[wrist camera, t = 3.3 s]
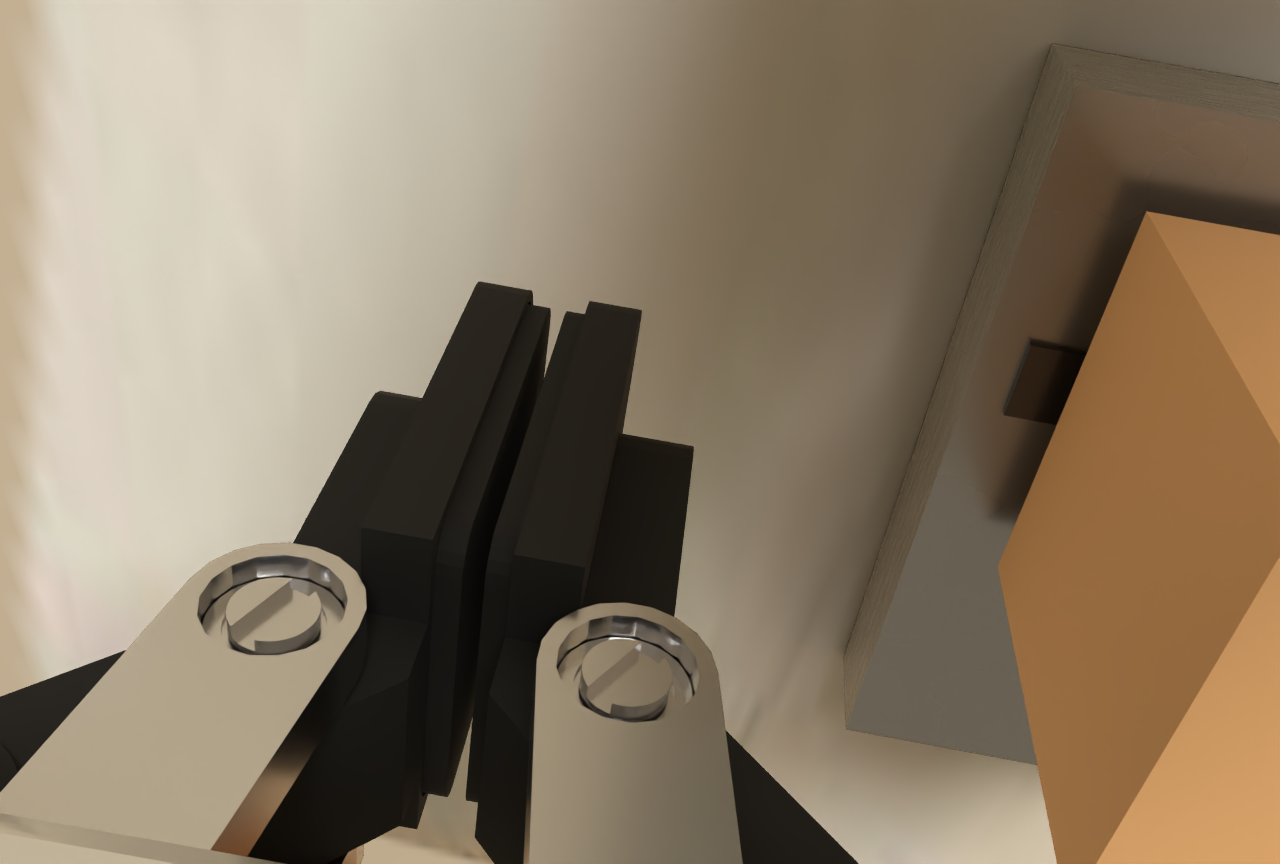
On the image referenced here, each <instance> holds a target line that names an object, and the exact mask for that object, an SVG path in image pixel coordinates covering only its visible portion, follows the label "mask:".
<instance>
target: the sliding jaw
mask: <svg viewBox="0 0 1280 864" xmlns="http://www.w3.org/2000/svg"><path fill="white" fill-rule="evenodd" d="M998 571H999V576H1000V581H1001V586H1002V591H1003V596H1004V601H1005V606H1006V611H1007V616H1008V621H1009V626H1010V631H1011V636H1012V641H1013V646H1014V651H1015V656H1016V661H1017V666H1018V671H1019V676H1020V680H1021V685H1022V690H1023V695H1024V700H1025V705H1026V710H1027V715H1028V720H1029V725H1030V730H1031V735H1032V740H1033V745H1034V750H1035V755H1036V760H1037V765H1038V770H1039V775H1040V780H1041V785H1042V790H1043V795H1044V800H1045V805H1046V810H1047V815H1048V820H1049V825H1050V830H1051V835H1052V840H1053V845H1054V850H1055V855H1056V860H1057V864H1280V235H1276V234H1270V233H1265V232H1259V231H1253V230H1248V229H1242V228H1237V227H1231V226H1226V225H1220V224H1215V223H1209V222H1203V221H1198V220H1192V219H1187V218H1181V217H1176V216H1170V215H1164V214H1159V213H1153V212H1148V211H1146V213H1145V216H1144V218H1143V221H1142V223H1141V225H1140V228H1139V230H1138V233H1137V235H1136V237H1135V240H1134V242H1133V244H1132V247H1131V249H1130V252H1129V254H1128V256H1127V259H1126V261H1125V264H1124V266H1123V268H1122V271H1121V273H1120V275H1119V278H1118V280H1117V283H1116V285H1115V287H1114V290H1113V292H1112V295H1111V297H1110V299H1109V302H1108V304H1107V306H1106V309H1105V311H1104V314H1103V316H1102V318H1101V321H1100V323H1099V326H1098V328H1097V330H1096V333H1095V335H1094V338H1093V340H1092V342H1091V345H1090V347H1089V349H1088V352H1087V354H1086V357H1085V359H1084V361H1083V364H1082V366H1081V369H1080V371H1079V373H1078V376H1077V378H1076V380H1075V383H1074V385H1073V388H1072V390H1071V392H1070V395H1069V397H1068V400H1067V402H1066V404H1065V407H1064V409H1063V411H1062V414H1061V416H1060V419H1059V421H1058V423H1057V426H1056V428H1055V431H1054V433H1053V435H1052V438H1051V440H1050V443H1049V445H1048V447H1047V450H1046V452H1045V454H1044V457H1043V459H1042V462H1041V464H1040V466H1039V469H1038V471H1037V474H1036V476H1035V478H1034V481H1033V483H1032V485H1031V488H1030V490H1029V493H1028V495H1027V497H1026V500H1025V502H1024V505H1023V507H1022V509H1021V512H1020V514H1019V516H1018V519H1017V521H1016V524H1015V526H1014V528H1013V531H1012V533H1011V536H1010V538H1009V540H1008V543H1007V545H1006V548H1005V550H1004V552H1003V555H1002V557H1001V559H1000V562H999V564H998Z"/></svg>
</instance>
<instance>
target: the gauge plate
mask: <svg viewBox="0 0 1280 864" xmlns="http://www.w3.org/2000/svg"><path fill="white" fill-rule="evenodd" d="M1146 211H1148V212H1153V213H1159V214H1164V215H1170V216H1176V217H1181V218H1187V219H1192V220H1198V221H1203V222H1209V223H1215V224H1220V225H1226V226H1231V227H1237V228H1242V229H1248V230H1253V231H1259V232H1265V233H1270V234H1276V235H1280V84H1277V83H1271V82H1265V81H1260V80H1254V79H1248V78H1243V77H1237V76H1232V75H1226V74H1220V73H1215V72H1209V71H1203V70H1198V69H1192V68H1187V67H1181V66H1175V65H1170V64H1164V63H1159V62H1153V61H1147V60H1142V59H1136V58H1130V57H1125V56H1119V55H1114V54H1108V53H1102V52H1097V51H1091V50H1085V49H1080V48H1074V47H1069V46H1063V45H1057V44H1052V45H1051V48H1050V51H1049V54H1048V57H1047V60H1046V63H1045V66H1044V69H1043V72H1042V75H1041V78H1040V81H1039V84H1038V86H1037V89H1036V92H1035V95H1034V98H1033V101H1032V104H1031V107H1030V110H1029V113H1028V116H1027V119H1026V122H1025V125H1024V128H1023V131H1022V134H1021V137H1020V139H1019V142H1018V145H1017V148H1016V151H1015V154H1014V157H1013V160H1012V163H1011V166H1010V169H1009V172H1008V175H1007V178H1006V181H1005V184H1004V187H1003V190H1002V193H1001V195H1000V198H999V201H998V204H997V207H996V210H995V213H994V216H993V219H992V222H991V225H990V228H989V231H988V234H987V237H986V240H985V243H984V246H983V248H982V251H981V254H980V257H979V260H978V263H977V266H976V269H975V272H974V275H973V278H972V281H971V284H970V287H969V290H968V293H967V296H966V299H965V301H964V304H963V307H962V310H961V313H960V316H959V319H958V322H957V325H956V328H955V331H954V334H953V337H952V340H951V343H950V346H949V349H948V352H947V354H946V357H945V360H944V363H943V366H942V369H941V372H940V375H939V378H938V381H937V384H936V387H935V390H934V393H933V396H932V399H931V402H930V405H929V407H928V410H927V413H926V416H925V419H924V422H923V425H922V428H921V431H920V434H919V437H918V440H917V443H916V446H915V449H914V452H913V455H912V458H911V461H910V463H909V466H908V469H907V472H906V475H905V478H904V481H903V484H902V487H901V490H900V493H899V496H898V499H897V502H896V505H895V508H894V511H893V514H892V516H891V519H890V522H889V525H888V528H887V531H886V534H885V537H884V540H883V543H882V546H881V549H880V552H879V555H878V558H877V561H876V564H875V567H874V569H873V572H872V575H871V578H870V581H869V584H868V587H867V590H866V593H865V596H864V599H863V602H862V605H861V608H860V611H859V614H858V617H857V620H856V622H855V625H854V628H853V631H852V634H851V637H850V640H849V643H848V646H847V649H846V652H845V655H844V658H843V662H844V691H845V720H846V729H848V730H853V731H858V732H864V733H869V734H874V735H880V736H885V737H891V738H896V739H901V740H907V741H912V742H917V743H923V744H928V745H933V746H939V747H944V748H949V749H955V750H960V751H965V752H971V753H976V754H981V755H987V756H992V757H997V758H1003V759H1008V760H1013V761H1019V762H1024V763H1030V764H1035V765H1037V760H1036V755H1035V750H1034V745H1033V740H1032V735H1031V730H1030V725H1029V720H1028V715H1027V710H1026V705H1025V700H1024V695H1023V690H1022V685H1021V680H1020V676H1019V671H1018V666H1017V661H1016V656H1015V651H1014V646H1013V641H1012V636H1011V631H1010V626H1009V621H1008V616H1007V611H1006V606H1005V601H1004V596H1003V591H1002V586H1001V581H1000V576H999V571H998V564H999V562H1000V559H1001V557H1002V555H1003V552H1004V550H1005V548H1006V545H1007V543H1008V540H1009V538H1010V536H1011V533H1012V531H1013V528H1014V526H1015V524H1016V521H1017V519H1018V516H1019V514H1020V512H1021V509H1022V507H1023V505H1024V502H1025V500H1026V497H1027V495H1028V493H1029V490H1030V488H1031V485H1032V483H1033V481H1034V478H1035V476H1036V474H1037V471H1038V469H1039V466H1040V464H1041V462H1042V459H1043V457H1044V454H1045V452H1046V450H1047V447H1048V445H1049V443H1050V440H1051V438H1052V435H1053V433H1054V431H1055V428H1056V426H1057V423H1058V421H1059V419H1060V416H1061V414H1062V411H1063V409H1064V407H1065V404H1066V402H1067V400H1068V397H1069V395H1070V392H1071V390H1072V388H1073V385H1074V383H1075V380H1076V378H1077V376H1078V373H1079V371H1080V369H1081V366H1082V364H1083V361H1084V359H1085V357H1086V354H1087V352H1088V349H1089V347H1090V345H1091V342H1092V340H1093V338H1094V335H1095V333H1096V330H1097V328H1098V326H1099V323H1100V321H1101V318H1102V316H1103V314H1104V311H1105V309H1106V306H1107V304H1108V302H1109V299H1110V297H1111V295H1112V292H1113V290H1114V287H1115V285H1116V283H1117V280H1118V278H1119V275H1120V273H1121V271H1122V268H1123V266H1124V264H1125V261H1126V259H1127V256H1128V254H1129V252H1130V249H1131V247H1132V244H1133V242H1134V240H1135V237H1136V235H1137V233H1138V230H1139V228H1140V225H1141V223H1142V221H1143V218H1144V216H1145V213H1146Z"/></svg>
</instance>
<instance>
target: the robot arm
mask: <svg viewBox="0 0 1280 864" xmlns="http://www.w3.org/2000/svg"><path fill="white" fill-rule="evenodd" d="M641 315H642V310H638V309H632V308H626V307H621V306H615V305H609V304H604V303H598V302H592V301H589V304H588V307H587V310H586V313H585V314H580V313H574V312H568V311H567V312H566V313H565V316H564V319H563V322H562V325H561V328H560V331H559V334H558V338H557V341H556V344H555V347H554V350H553V353H552V356H551V359H550V362H549V365H548V368H547V371H546V374H545V377H544V372H545V363H546V354H547V345H548V337H549V328H550V317H551V310H550V308H546V307H540V306H534V305H533V292H532V291H530V290H525V289H519V288H513V287H508V286H502V285H496V284H491V283H485V282H478V283H477V285H476V286H475V288H474V291H473V293H472V295H471V297H470V299H469V301H468V303H467V305H466V307H465V309H464V312H463V314H462V316H461V318H460V320H459V322H458V324H457V326H456V328H455V331H454V333H453V335H452V337H451V339H450V341H449V343H448V345H447V347H446V349H445V352H444V354H443V356H442V358H441V360H440V362H439V364H438V366H437V368H436V371H435V373H434V375H433V377H432V379H431V381H430V383H429V385H428V387H427V389H426V392H425V394H424V396H423V398H418V397H412V396H407V395H401V394H395V393H390V392H384V391H379V392H377V393H375V395H374V396H373V397H372V399H371V400H370V402H369V404H368V406H367V407H366V409H365V411H364V413H363V415H362V417H361V419H360V420H359V422H358V424H357V426H356V428H355V430H354V431H353V433H352V435H351V437H350V439H349V441H348V443H347V444H346V446H345V448H344V450H343V452H342V454H341V456H340V457H339V459H338V461H337V463H336V465H335V467H334V468H333V470H332V472H331V474H330V476H329V478H328V480H327V481H326V483H325V485H324V487H323V489H322V491H321V493H320V494H319V496H318V498H317V500H316V502H315V504H314V505H313V507H312V509H311V511H310V513H309V515H308V517H307V518H306V520H305V522H304V524H303V526H302V528H301V530H300V531H299V533H298V535H297V537H296V539H295V541H294V542H293V543H271V544H259V545H255V546H250V547H246V548H242V549H238V550H234V551H232V552H230V553H228V554H225V555H223V556H221V557H219V558H217V559H215V560H213V561H211V562H209V563H208V564H207V565H205V566H204V567H203V568H202V569H201V570H200V571H198V572H197V573H196V574H195V575H194V576H192V577H191V578H190V579H189V580H188V581H187V583H186V584H185V585H184V586H183V587H182V588H181V589H180V590H179V592H178V593H177V594H176V595H175V596H174V597H173V598H172V599H171V601H170V602H169V603H168V604H167V605H166V606H165V607H164V608H163V610H162V611H161V612H160V613H159V614H158V615H157V616H156V617H155V619H154V620H153V621H152V622H151V623H150V624H149V625H148V626H147V628H146V629H145V630H144V631H143V632H142V633H141V634H140V636H139V637H138V638H137V639H136V640H135V641H134V642H133V643H132V645H131V646H130V647H129V648H128V649H127V650H125V651H122V652H120V653H117V654H114V655H112V656H109V657H106V658H104V659H101V660H98V661H95V662H93V663H90V664H87V665H85V666H82V667H79V668H77V669H74V670H71V671H69V672H66V673H63V674H60V675H58V676H55V677H52V678H50V679H47V680H44V681H42V682H39V683H36V684H33V685H31V686H28V687H25V688H23V689H20V690H17V691H15V692H12V693H9V694H7V695H4V696H1V697H0V864H361V860H362V858H363V856H364V855H363V854H364V853H363V852H364V844H365V843H367V842H369V841H371V840H373V839H375V838H377V837H379V836H380V835H382V834H384V833H386V832H388V831H390V830H392V829H394V828H396V827H398V826H402V827H408V828H413V829H417V828H418V825H419V822H420V818H421V815H422V812H423V809H424V805H425V802H426V799H427V796H428V794H434V795H439V796H445V797H448V796H449V794H450V791H451V788H452V785H453V782H454V779H455V775H456V772H457V768H458V765H459V762H460V758H461V755H462V751H463V748H464V744H465V741H466V738H467V734H468V731H469V727H470V724H471V720H472V717H473V720H472V732H471V743H470V754H469V765H468V776H467V788H466V800H467V801H473V802H478V810H477V820H476V830H475V838H476V840H477V841H478V842H479V844H480V845H481V846H482V848H483V849H484V850H485V852H486V853H487V854H488V856H489V857H490V858H491V860H492V861H493V862H494V864H858V863H857V862H856V861H855V860H854V859H853V858H852V857H851V856H850V855H849V854H848V853H847V852H846V851H845V850H844V849H843V848H842V847H841V846H840V845H839V844H838V842H837V841H836V840H835V839H834V838H833V837H832V836H831V835H830V834H829V833H828V832H827V831H826V830H825V829H824V828H823V827H822V826H821V825H820V824H819V823H818V822H817V821H816V820H815V819H814V818H813V817H812V816H811V815H810V814H809V813H808V812H807V811H806V810H805V809H804V808H803V807H802V806H801V805H800V804H799V803H798V802H797V801H796V800H795V799H794V798H793V797H792V796H791V795H790V794H789V793H788V792H787V791H786V790H785V789H784V788H783V787H782V786H781V785H780V784H779V783H778V782H777V781H776V780H775V779H774V778H773V777H772V776H771V775H770V774H769V773H768V772H767V771H766V770H765V769H764V768H763V767H762V766H761V765H760V764H759V763H758V762H757V761H756V760H755V759H754V758H753V757H752V756H751V755H750V754H749V753H748V752H747V751H746V750H745V749H744V748H743V747H742V746H741V745H740V744H739V743H738V742H737V741H736V740H735V739H734V738H733V737H732V736H731V735H730V734H729V733H728V732H727V731H726V730H725V722H724V714H723V706H722V699H721V691H720V683H719V675H718V671H717V668H716V665H715V662H714V659H713V656H712V653H711V651H710V649H709V648H708V647H707V646H706V644H705V643H704V642H703V640H702V639H701V638H700V637H699V635H698V634H697V633H696V632H695V631H693V630H692V629H691V628H689V627H688V626H687V625H685V624H684V623H683V622H681V621H680V620H679V619H677V618H675V617H674V614H675V605H676V597H677V588H678V580H679V571H680V563H681V555H682V546H683V538H684V529H685V521H686V512H687V504H688V495H689V487H690V478H691V470H692V462H693V452H694V447H693V446H688V445H682V444H677V443H671V442H665V441H660V440H654V439H648V438H643V437H637V436H632V435H626V434H622V433H623V426H624V420H625V414H626V408H627V402H628V396H629V390H630V383H631V377H632V371H633V365H634V359H635V353H636V347H637V340H638V334H639V328H640V322H641Z"/></svg>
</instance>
